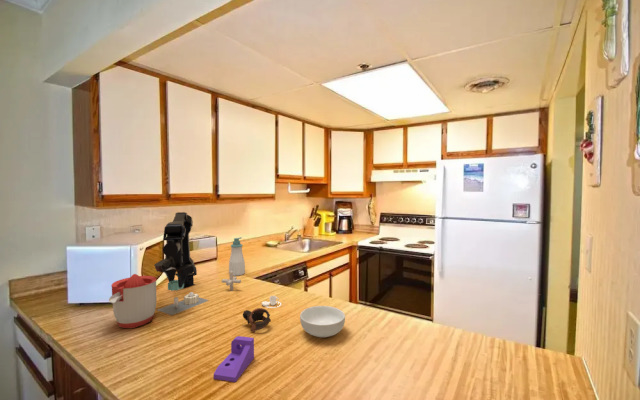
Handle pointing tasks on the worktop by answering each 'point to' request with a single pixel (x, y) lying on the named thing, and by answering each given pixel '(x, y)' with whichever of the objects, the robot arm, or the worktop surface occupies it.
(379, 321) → the worktop surface
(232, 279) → the pipe connector
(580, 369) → the worktop surface
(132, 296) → the citrus juicer
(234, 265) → the soap bottle
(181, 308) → the gear board
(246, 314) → the pottery mug
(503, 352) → the worktop surface
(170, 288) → the teal gear
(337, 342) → the worktop surface
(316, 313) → the cereal bowl
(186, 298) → the cream gear
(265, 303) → the teacup and saucer
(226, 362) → the bracket
